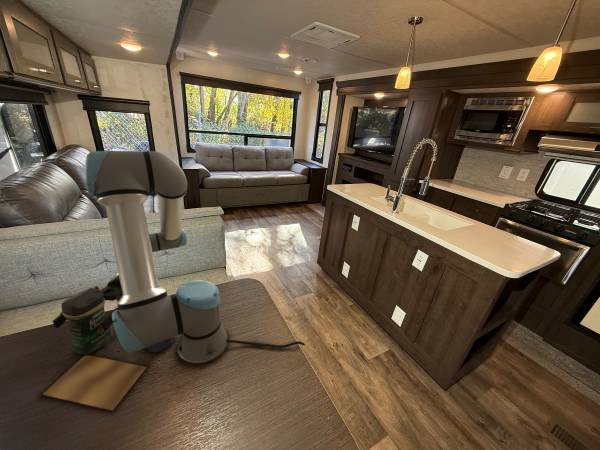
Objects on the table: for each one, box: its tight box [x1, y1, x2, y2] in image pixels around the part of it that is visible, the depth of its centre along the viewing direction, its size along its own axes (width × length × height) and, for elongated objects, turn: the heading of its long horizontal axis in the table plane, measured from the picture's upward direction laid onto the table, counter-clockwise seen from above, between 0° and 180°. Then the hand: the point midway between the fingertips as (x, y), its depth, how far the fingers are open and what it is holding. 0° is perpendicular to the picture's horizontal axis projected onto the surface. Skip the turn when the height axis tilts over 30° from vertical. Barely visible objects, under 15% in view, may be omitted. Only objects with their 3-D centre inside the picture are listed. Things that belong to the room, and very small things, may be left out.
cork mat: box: [42, 354, 148, 412], centre depth 68 cm, size 20×12×1 cm, turn 82°
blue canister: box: [147, 337, 174, 353], centre depth 79 cm, size 8×8×11 cm
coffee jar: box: [60, 287, 113, 356], centre depth 75 cm, size 10×8×19 cm
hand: (79, 325), depth 72 cm, fingers open, 13 cm apart
